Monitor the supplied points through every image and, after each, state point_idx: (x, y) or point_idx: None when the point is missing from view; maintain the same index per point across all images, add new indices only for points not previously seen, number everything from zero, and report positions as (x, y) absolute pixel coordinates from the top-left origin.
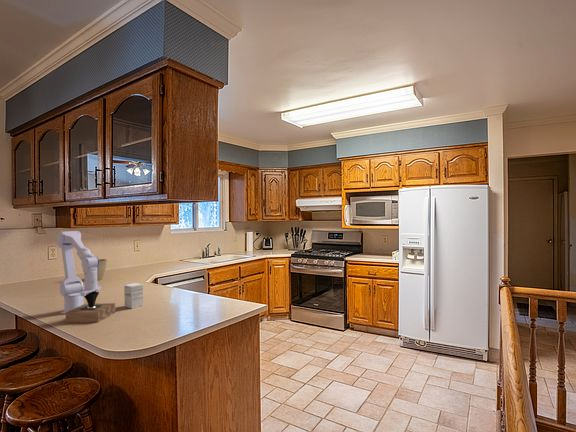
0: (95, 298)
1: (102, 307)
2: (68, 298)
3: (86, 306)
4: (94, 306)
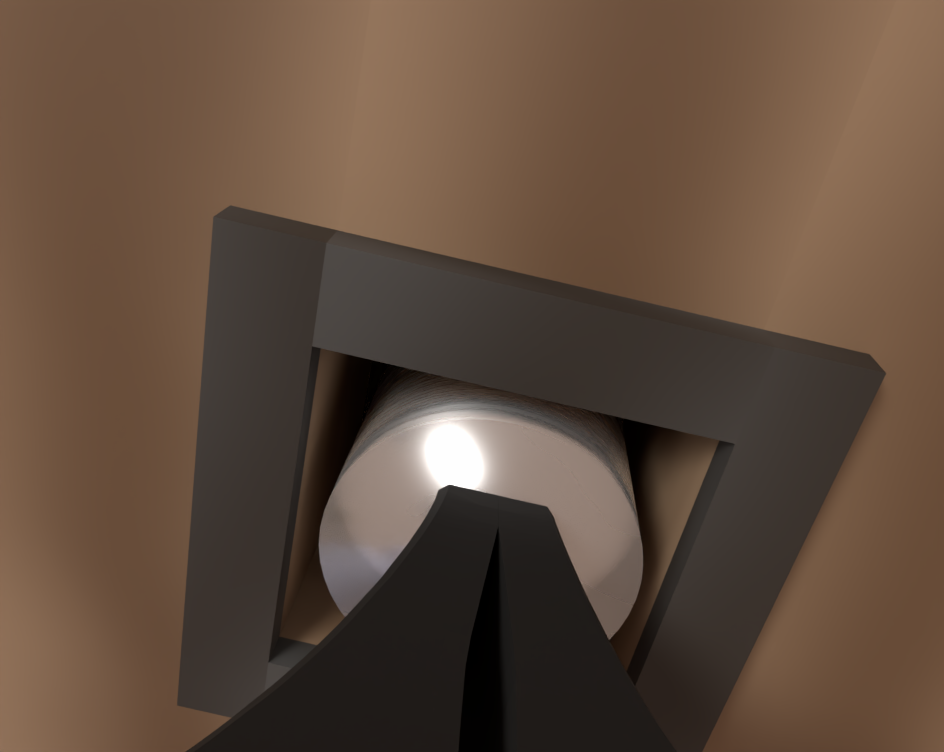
0: (403, 714)
1: (611, 89)
2: None
3: None
4: (473, 469)
